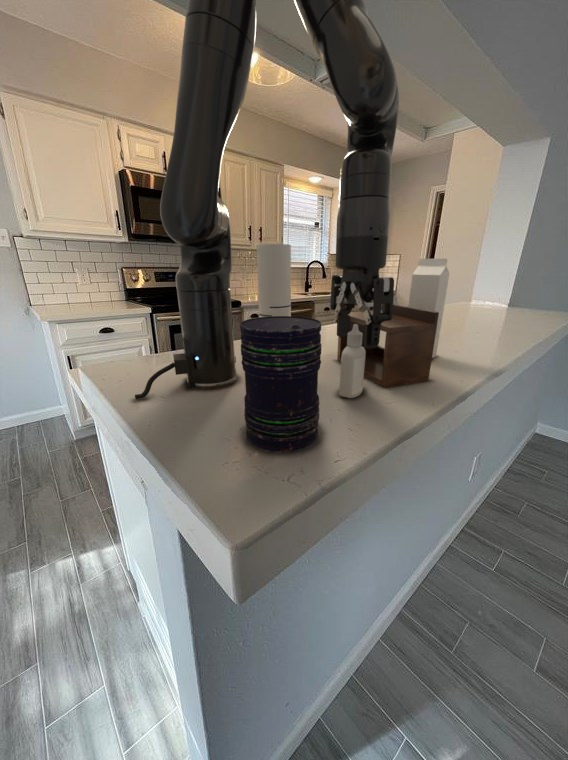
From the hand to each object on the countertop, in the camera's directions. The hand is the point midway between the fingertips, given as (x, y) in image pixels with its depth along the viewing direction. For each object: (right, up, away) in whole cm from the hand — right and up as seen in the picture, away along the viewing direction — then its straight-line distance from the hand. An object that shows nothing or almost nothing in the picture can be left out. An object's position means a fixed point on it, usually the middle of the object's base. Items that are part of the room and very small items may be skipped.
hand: (356, 341), depth 53 cm
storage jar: (-12, -14, -10) cm, 21 cm away
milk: (+21, -1, +24) cm, 32 cm away
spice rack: (+8, -4, +15) cm, 17 cm away
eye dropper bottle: (0, -9, +3) cm, 9 cm away
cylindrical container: (-14, -2, +22) cm, 27 cm away
